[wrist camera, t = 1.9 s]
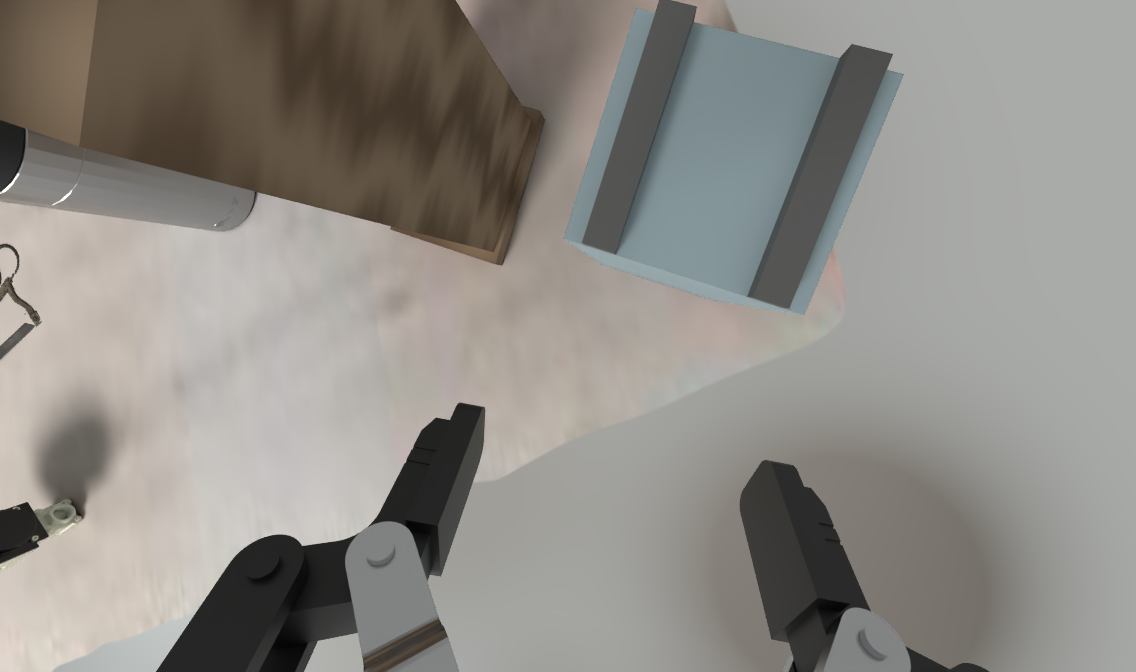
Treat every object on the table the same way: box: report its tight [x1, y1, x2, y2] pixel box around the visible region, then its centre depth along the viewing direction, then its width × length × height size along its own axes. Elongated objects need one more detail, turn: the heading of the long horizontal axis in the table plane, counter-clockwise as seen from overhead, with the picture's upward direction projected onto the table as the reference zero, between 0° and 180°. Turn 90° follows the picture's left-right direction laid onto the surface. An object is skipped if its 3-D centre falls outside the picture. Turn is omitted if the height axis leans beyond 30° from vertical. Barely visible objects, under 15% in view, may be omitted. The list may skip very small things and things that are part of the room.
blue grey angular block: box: [564, 0, 904, 315], centre depth 28 cm, size 10×11×22 cm
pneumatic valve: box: [0, 499, 82, 574], centre depth 48 cm, size 6×12×12 cm, turn 122°
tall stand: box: [0, 0, 545, 265], centre depth 26 cm, size 14×11×32 cm
